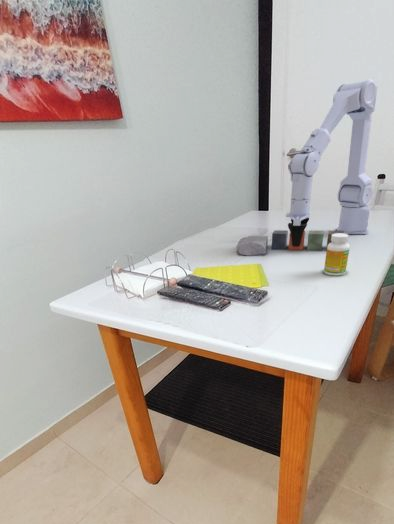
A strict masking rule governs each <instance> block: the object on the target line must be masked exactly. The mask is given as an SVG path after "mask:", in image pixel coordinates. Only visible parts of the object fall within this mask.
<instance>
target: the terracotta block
mask: <svg viewBox="0 0 394 524" xmlns="http://www.w3.org/2000/svg"><path fill="white" fill-rule="evenodd" d="M288 237H289V238H288V239H289V240H288V250H291V251H293V250H294V251H303V250H304V247H305V237H306V230H304V232H303V235H302V239H301V243H300V246H299V247H293V246H292V239H291V233H290V232H289V236H288Z"/></svg>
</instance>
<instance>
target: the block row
mask: <svg viewBox="0 0 394 524" xmlns="http://www.w3.org/2000/svg"><path fill="white" fill-rule="evenodd" d="M324 233H325V232H324V230H309V231H308V236H307V244H306V245H307V246H306V250H307V251H322V249H323V241H324ZM335 233H344V231H337V230H328V234H327V241H326V247H325V250H326V251H327V246H328V244H329V243H331V242H332V241H331V236H332V234H335ZM288 234H289V229H287V230H283V229H282V230H281V229H279V230H277V229H275V230H273V232H272V234H271V250H286V248H287V246H288V237H289V235H288Z"/></svg>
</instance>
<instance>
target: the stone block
mask: <svg viewBox="0 0 394 524" xmlns="http://www.w3.org/2000/svg"><path fill="white" fill-rule="evenodd" d="M268 239H269V236H268V235H257V234H256V235H255V234H253V235H248V236H245V237H242V238H240V240H239V241H238V242H237V244H236V251H237V253H238V254H239V255H242V256H249V257H250V256H265V255H266V253H267V248H268Z"/></svg>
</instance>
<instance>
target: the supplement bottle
mask: <svg viewBox="0 0 394 524" xmlns="http://www.w3.org/2000/svg"><path fill="white" fill-rule="evenodd" d="M349 235H350V234H344V233H335V234H332V236H331V241H332V242H331V243H329V244H328V246H327V245H326V248H327V250H326V253H325V260H324V265H323V266H324V267H323V272H324V274H326V275H327V276H328V275H329V276H335V277H336V276H343V275H345V274H346V272H347V266H348V261H349V255H350V249H351V245H350V244H349V243H348V242H349Z"/></svg>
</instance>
